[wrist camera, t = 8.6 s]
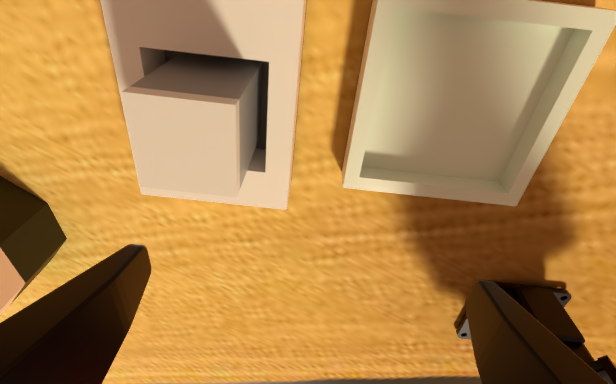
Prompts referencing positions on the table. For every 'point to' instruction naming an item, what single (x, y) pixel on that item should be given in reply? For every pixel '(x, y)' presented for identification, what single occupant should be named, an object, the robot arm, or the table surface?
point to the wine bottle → (24, 240)
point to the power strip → (225, 44)
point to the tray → (466, 94)
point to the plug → (195, 123)
